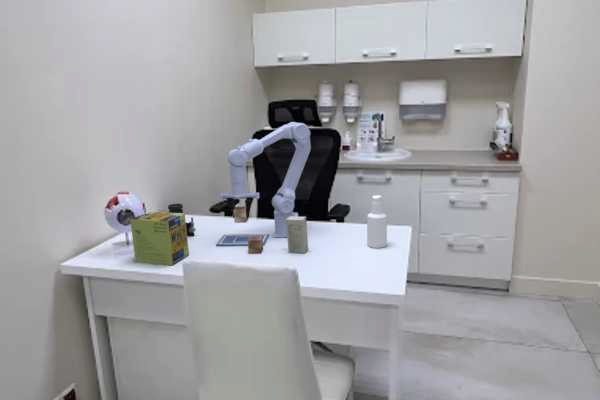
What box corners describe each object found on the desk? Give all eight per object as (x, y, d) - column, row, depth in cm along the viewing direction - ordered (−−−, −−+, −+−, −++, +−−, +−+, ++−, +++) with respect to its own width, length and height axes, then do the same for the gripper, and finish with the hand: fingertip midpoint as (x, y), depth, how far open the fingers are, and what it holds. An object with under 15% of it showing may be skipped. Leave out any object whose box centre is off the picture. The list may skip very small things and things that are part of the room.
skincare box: (308, 249, 165) (307, 216, 162) (304, 253, 161) (303, 219, 158) (291, 248, 167) (290, 215, 164) (287, 252, 163) (285, 218, 160)
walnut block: (263, 249, 168) (262, 236, 166) (261, 253, 163) (260, 240, 162) (251, 249, 168) (250, 236, 167) (248, 253, 164) (247, 240, 162)
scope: (193, 201, 184) (178, 208, 175) (196, 235, 187) (182, 243, 178) (175, 201, 187) (160, 207, 178) (179, 233, 190) (164, 241, 181)
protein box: (173, 265, 155) (168, 221, 152) (134, 262, 160) (129, 219, 157) (190, 255, 165) (185, 212, 161) (153, 251, 170) (148, 210, 166)
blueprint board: (269, 235, 183) (268, 234, 183) (264, 245, 171) (264, 244, 171) (224, 236, 184) (224, 234, 184) (216, 246, 173) (216, 244, 173)
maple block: (248, 219, 178) (247, 206, 177) (246, 222, 173) (245, 209, 172) (237, 219, 178) (236, 206, 177) (234, 222, 174) (233, 209, 173)
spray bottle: (388, 243, 168) (388, 194, 164) (383, 249, 162) (383, 199, 158) (370, 241, 171) (370, 193, 167) (364, 247, 165) (364, 198, 161)
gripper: (216, 184, 169) (219, 220, 172) (256, 183, 168) (258, 219, 171) (221, 180, 176) (224, 215, 179) (259, 179, 175) (261, 214, 178)
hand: (241, 217), depth 175 cm, fingers closed on maple block, 4 cm apart
